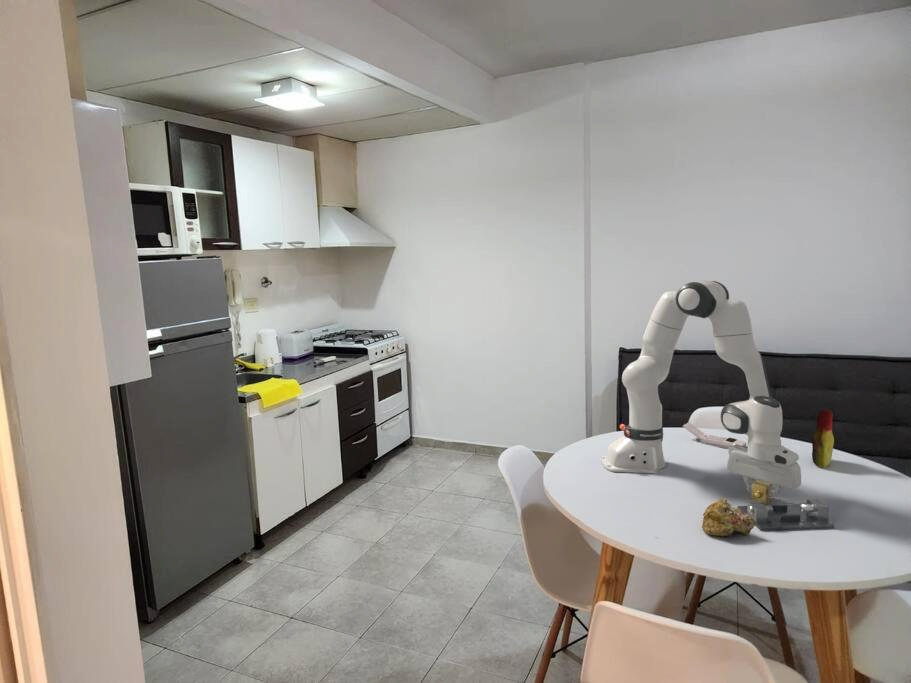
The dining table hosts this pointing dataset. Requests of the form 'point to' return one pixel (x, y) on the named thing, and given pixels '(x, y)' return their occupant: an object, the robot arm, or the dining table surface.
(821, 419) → the red yellow oblong piece
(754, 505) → the dark grey baseplate
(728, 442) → the mobile phone
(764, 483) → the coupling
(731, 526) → the rock
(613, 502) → the dining table surface
